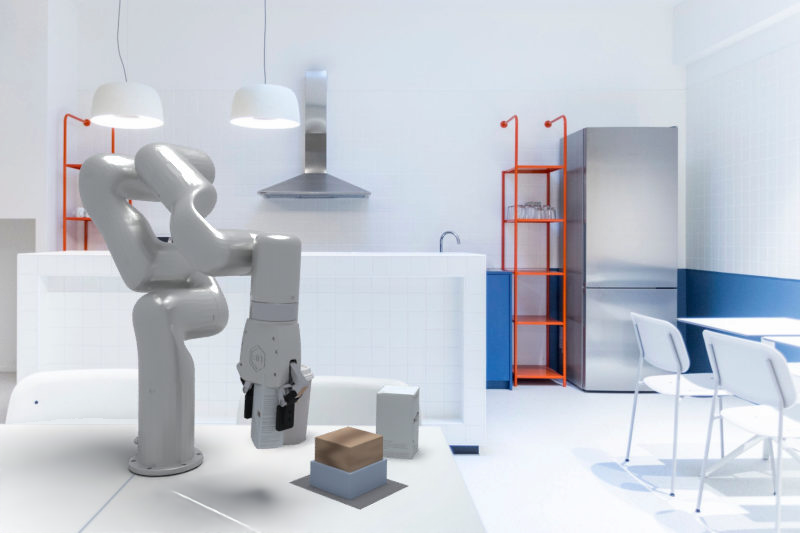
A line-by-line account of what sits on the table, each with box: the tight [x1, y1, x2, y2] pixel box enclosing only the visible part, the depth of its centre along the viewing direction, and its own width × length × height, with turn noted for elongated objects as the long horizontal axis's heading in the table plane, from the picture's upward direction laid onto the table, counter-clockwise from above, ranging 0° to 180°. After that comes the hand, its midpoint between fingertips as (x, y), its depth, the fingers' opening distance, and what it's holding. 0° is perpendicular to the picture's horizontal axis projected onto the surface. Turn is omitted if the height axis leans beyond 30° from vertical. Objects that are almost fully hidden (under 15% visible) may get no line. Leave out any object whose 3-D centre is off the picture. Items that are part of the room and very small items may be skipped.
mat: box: [288, 474, 409, 510], centre depth 101 cm, size 16×12×1 cm
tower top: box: [314, 426, 384, 473], centre depth 101 cm, size 8×8×4 cm
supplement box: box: [375, 384, 420, 460], centre depth 117 cm, size 7×7×13 cm
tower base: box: [309, 457, 388, 500], centre depth 101 cm, size 9×9×4 cm
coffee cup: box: [283, 363, 315, 446], centre depth 124 cm, size 10×10×15 cm
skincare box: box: [250, 373, 289, 450], centre depth 96 cm, size 6×4×12 cm
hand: (268, 422), depth 96 cm, fingers closed on skincare box, 7 cm apart
